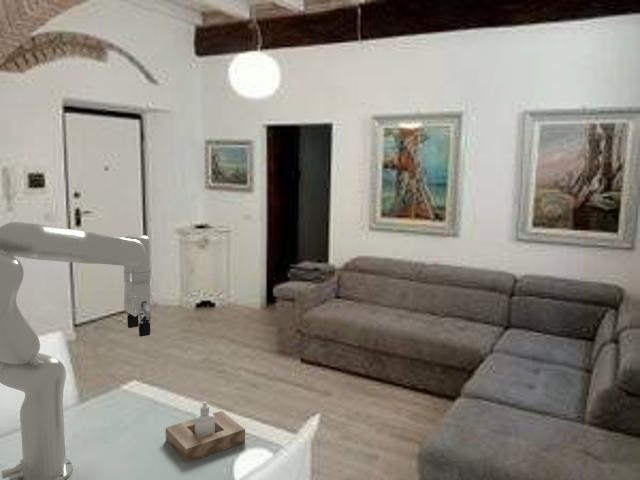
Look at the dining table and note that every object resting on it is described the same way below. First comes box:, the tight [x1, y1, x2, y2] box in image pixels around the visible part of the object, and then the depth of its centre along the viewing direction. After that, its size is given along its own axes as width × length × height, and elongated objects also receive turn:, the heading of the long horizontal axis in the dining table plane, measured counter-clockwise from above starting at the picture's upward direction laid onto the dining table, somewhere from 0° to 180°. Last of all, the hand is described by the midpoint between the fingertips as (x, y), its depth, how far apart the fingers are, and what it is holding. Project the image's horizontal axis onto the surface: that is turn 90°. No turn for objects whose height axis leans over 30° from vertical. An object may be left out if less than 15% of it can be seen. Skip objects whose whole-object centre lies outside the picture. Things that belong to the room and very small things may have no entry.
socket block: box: [165, 410, 246, 464], centre depth 151 cm, size 18×14×4 cm
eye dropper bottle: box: [194, 401, 215, 438], centre depth 151 cm, size 4×6×12 cm
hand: (138, 331), depth 160 cm, fingers open, 9 cm apart
